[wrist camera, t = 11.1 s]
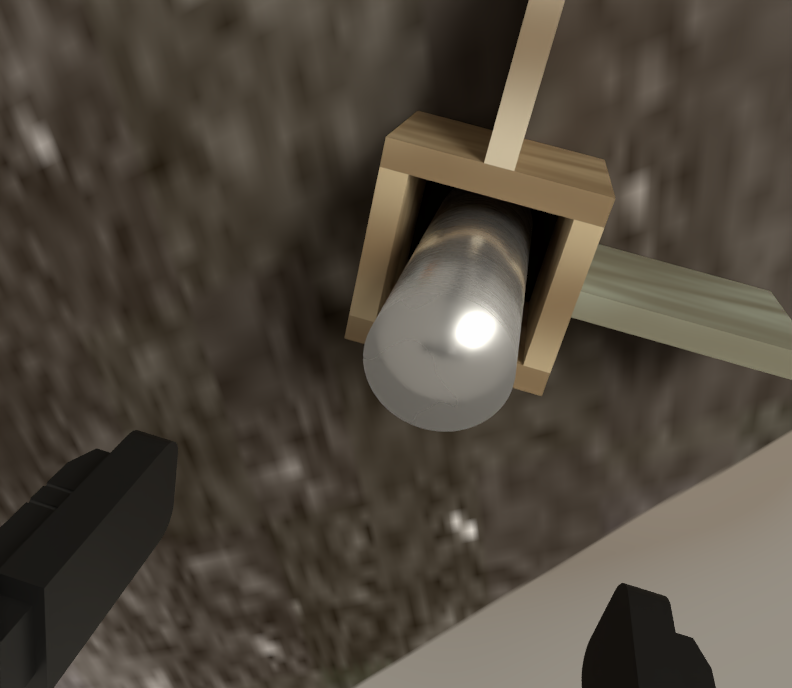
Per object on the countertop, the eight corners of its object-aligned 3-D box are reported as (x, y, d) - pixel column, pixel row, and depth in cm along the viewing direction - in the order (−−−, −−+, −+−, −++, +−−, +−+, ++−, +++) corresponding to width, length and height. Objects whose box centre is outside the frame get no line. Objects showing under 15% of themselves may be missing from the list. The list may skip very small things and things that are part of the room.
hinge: (469, -123, 25) (445, -155, 19) (927, -16, 23) (1034, -19, 18) (379, 281, 32) (344, 338, 27) (724, 380, 31) (759, 460, 26)
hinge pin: (450, 166, 29) (379, 274, 18) (545, 191, 29) (536, 319, 17) (427, 255, 31) (350, 406, 20) (516, 280, 31) (491, 449, 19)
